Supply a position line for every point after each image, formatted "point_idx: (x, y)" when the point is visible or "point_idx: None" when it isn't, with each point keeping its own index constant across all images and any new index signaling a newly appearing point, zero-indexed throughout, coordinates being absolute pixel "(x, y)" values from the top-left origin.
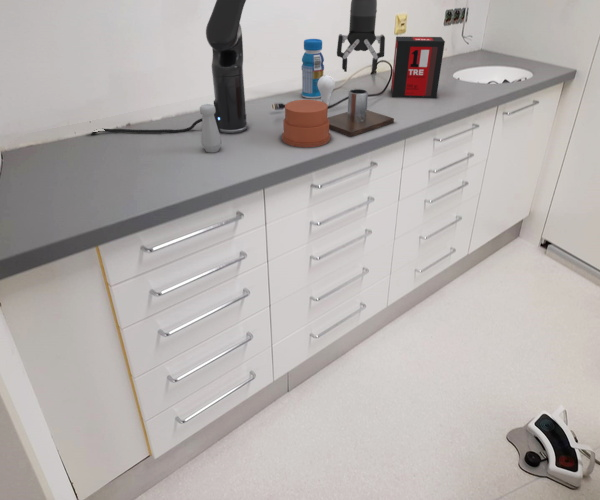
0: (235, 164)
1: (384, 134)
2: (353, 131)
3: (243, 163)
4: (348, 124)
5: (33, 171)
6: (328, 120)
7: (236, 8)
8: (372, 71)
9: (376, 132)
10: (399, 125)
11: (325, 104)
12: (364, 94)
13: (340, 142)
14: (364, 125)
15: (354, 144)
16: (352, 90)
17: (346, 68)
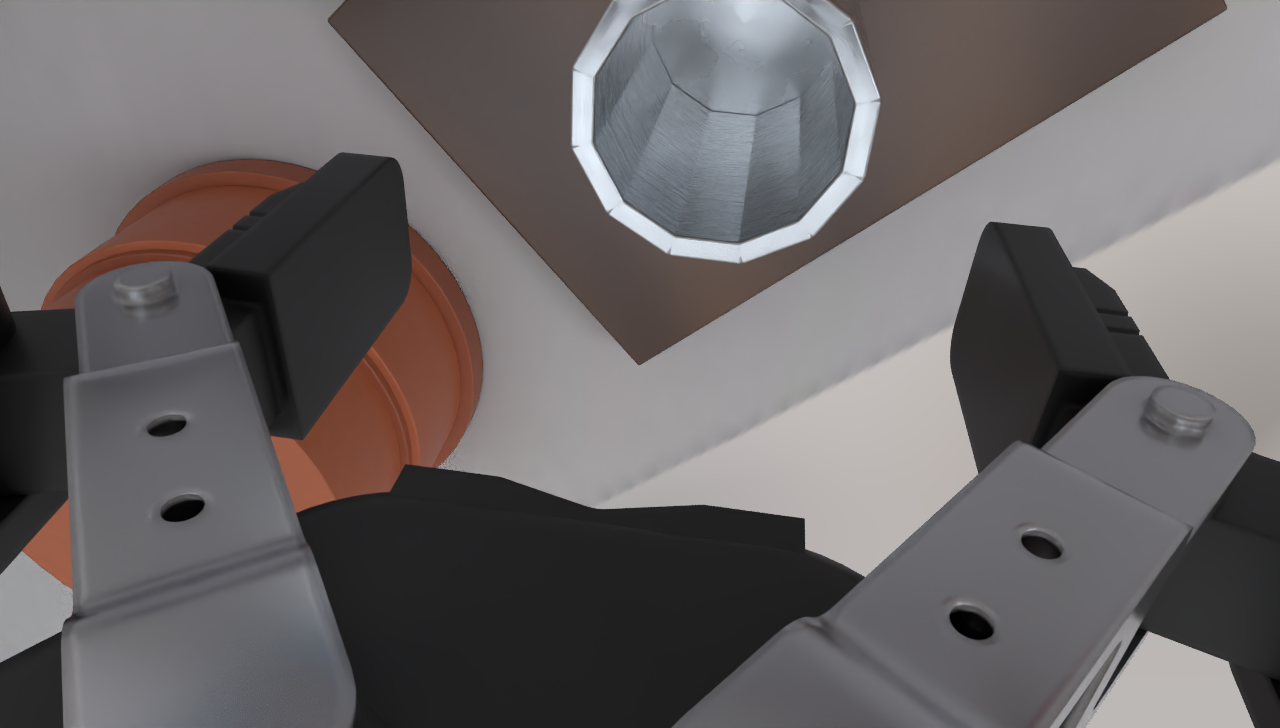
0: (39, 603)
1: (949, 321)
2: (660, 352)
3: (70, 599)
4: None
5: None
6: (412, 444)
7: None
8: (955, 358)
9: (892, 269)
10: (1229, 92)
11: (321, 499)
12: (792, 238)
13: (557, 429)
14: None
15: (654, 472)
16: (639, 11)
17: (381, 319)
